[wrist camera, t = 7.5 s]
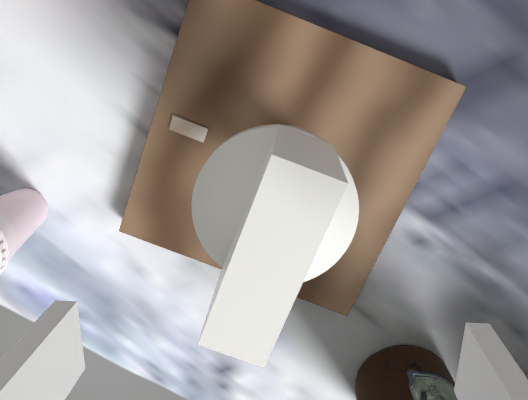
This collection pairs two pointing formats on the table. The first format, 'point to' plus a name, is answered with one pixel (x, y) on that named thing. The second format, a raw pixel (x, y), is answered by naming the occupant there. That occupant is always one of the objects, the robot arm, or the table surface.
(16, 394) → the robot arm
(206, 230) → the cap
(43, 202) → the smoothie
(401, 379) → the olive oil
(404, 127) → the post board
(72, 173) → the table surface
